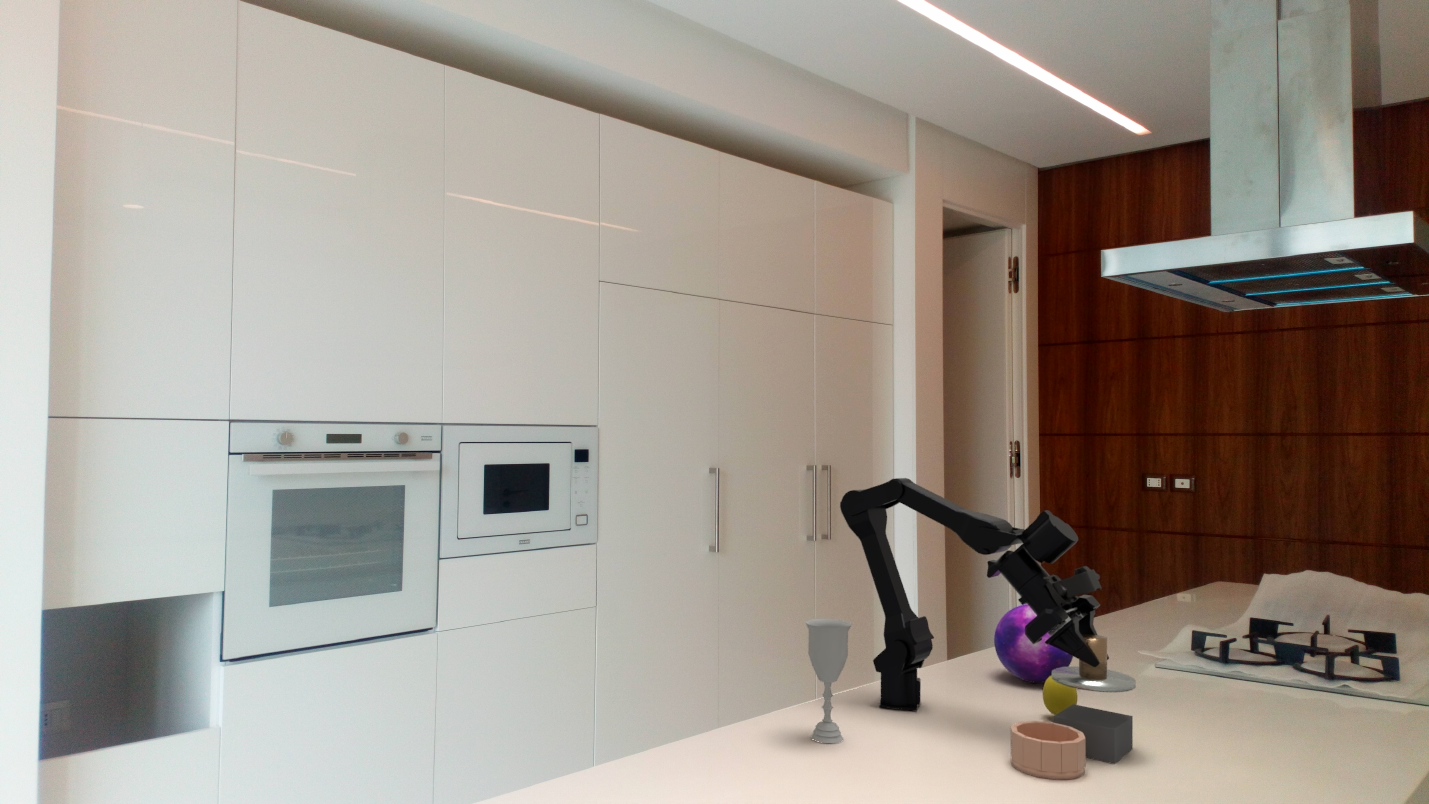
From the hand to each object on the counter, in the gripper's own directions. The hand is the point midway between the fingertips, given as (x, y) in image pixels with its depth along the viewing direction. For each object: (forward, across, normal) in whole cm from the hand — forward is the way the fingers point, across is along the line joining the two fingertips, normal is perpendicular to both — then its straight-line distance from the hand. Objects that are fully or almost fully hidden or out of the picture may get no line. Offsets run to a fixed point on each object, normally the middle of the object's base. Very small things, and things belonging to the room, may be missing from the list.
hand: (1102, 662), depth 139 cm
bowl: (+7, -12, +12) cm, 19 cm away
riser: (+8, 0, +10) cm, 13 cm away
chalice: (-14, -24, +34) cm, 44 cm away
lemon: (+2, +12, +17) cm, 21 cm away
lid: (+1, 0, +3) cm, 3 cm away
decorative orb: (-7, +33, +26) cm, 43 cm away
